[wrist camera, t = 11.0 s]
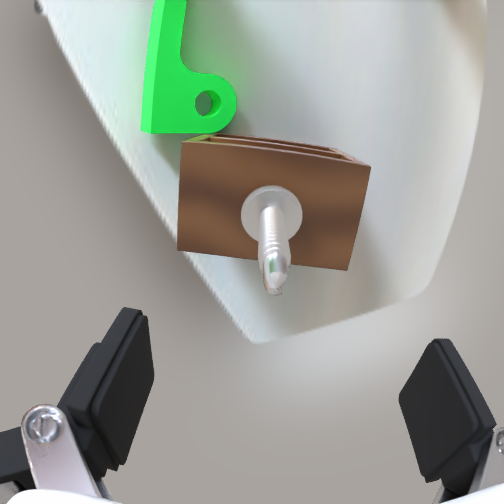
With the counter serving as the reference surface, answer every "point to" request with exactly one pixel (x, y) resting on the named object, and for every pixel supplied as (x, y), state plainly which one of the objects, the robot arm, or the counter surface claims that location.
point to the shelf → (262, 174)
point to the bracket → (179, 81)
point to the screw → (272, 230)
